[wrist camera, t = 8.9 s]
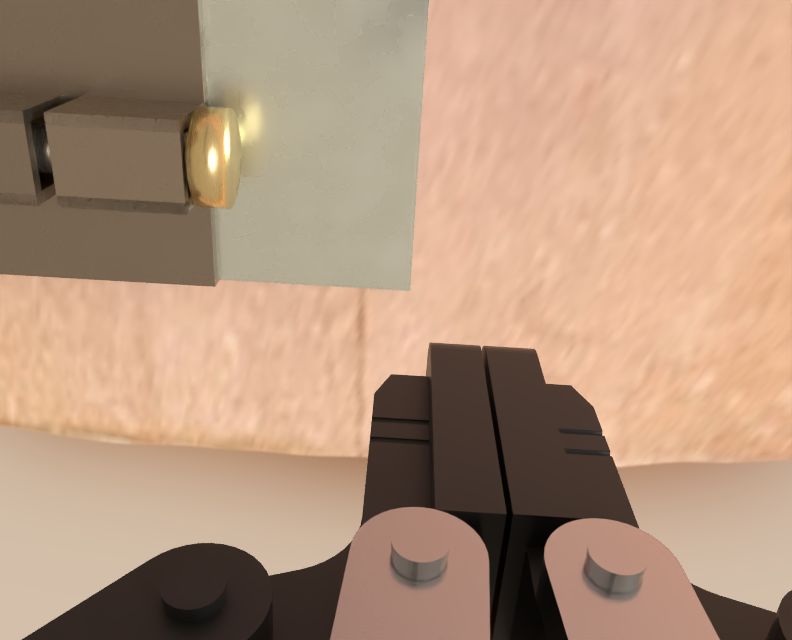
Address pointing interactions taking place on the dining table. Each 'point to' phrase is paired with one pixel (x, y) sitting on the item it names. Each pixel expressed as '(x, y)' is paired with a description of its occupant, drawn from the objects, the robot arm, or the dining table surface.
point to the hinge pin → (192, 156)
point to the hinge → (170, 117)
